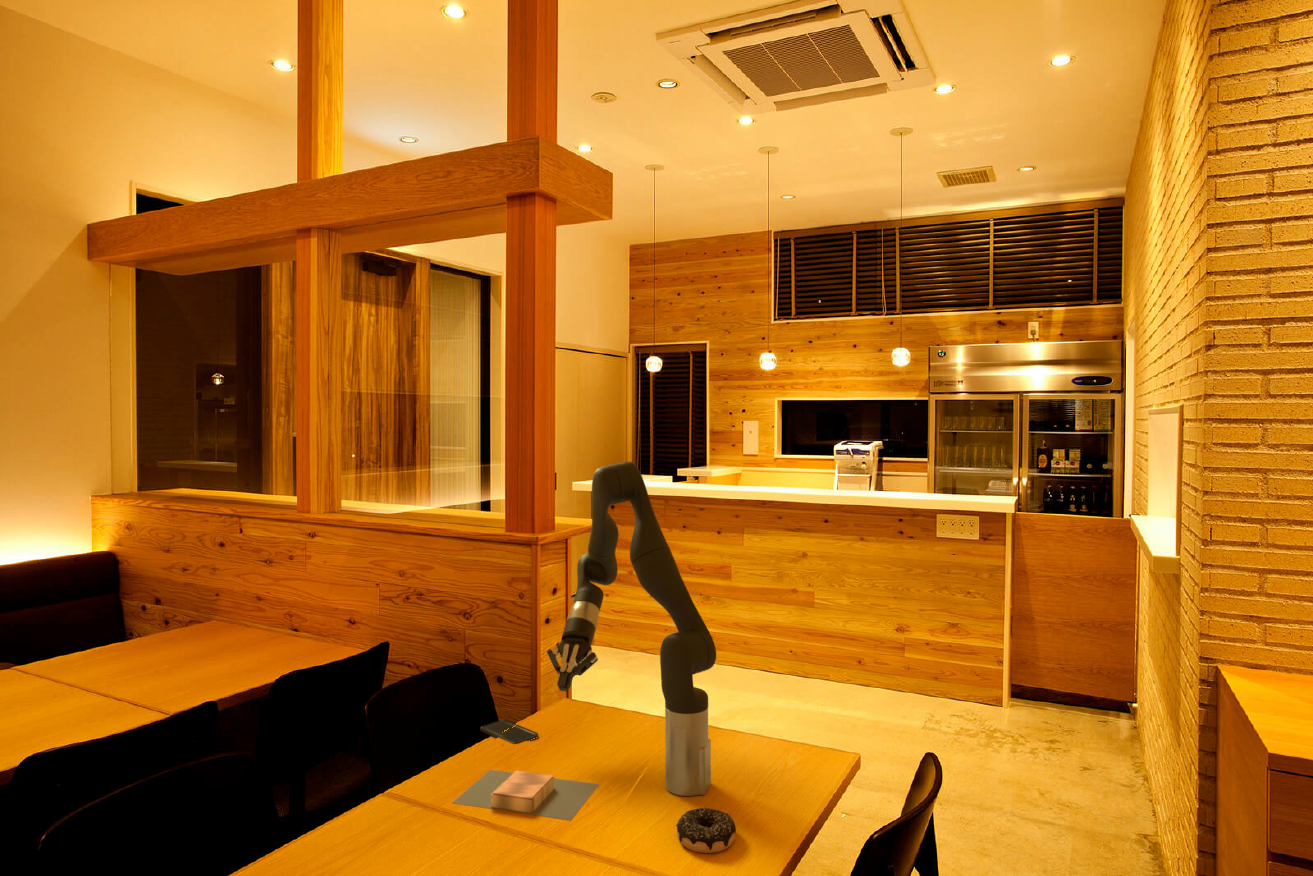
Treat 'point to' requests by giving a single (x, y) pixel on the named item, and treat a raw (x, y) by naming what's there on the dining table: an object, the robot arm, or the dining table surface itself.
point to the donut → (706, 830)
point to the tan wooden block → (523, 791)
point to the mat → (555, 805)
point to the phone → (509, 731)
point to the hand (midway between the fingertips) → (562, 689)
